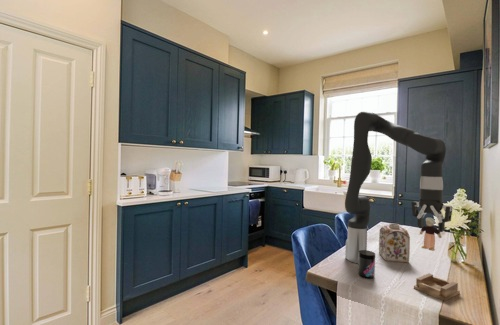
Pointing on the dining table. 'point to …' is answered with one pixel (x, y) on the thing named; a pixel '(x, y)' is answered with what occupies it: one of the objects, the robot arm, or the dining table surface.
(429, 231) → the grandmother figurine
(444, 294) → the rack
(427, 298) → the dining table surface
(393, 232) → the decorative jar
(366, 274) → the supplement container
